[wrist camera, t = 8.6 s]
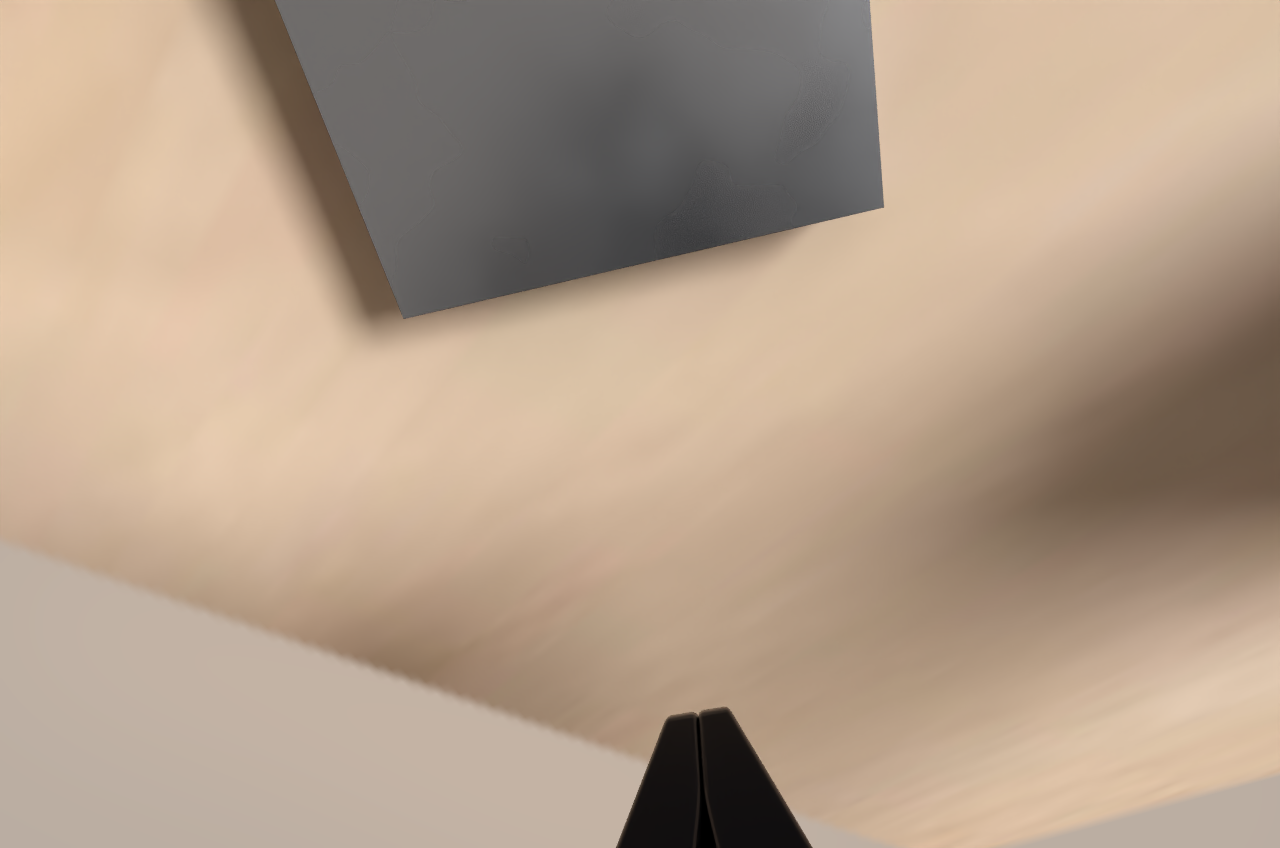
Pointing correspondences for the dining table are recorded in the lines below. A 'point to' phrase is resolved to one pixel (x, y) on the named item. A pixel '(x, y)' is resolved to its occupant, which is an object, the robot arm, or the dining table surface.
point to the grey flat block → (586, 130)
